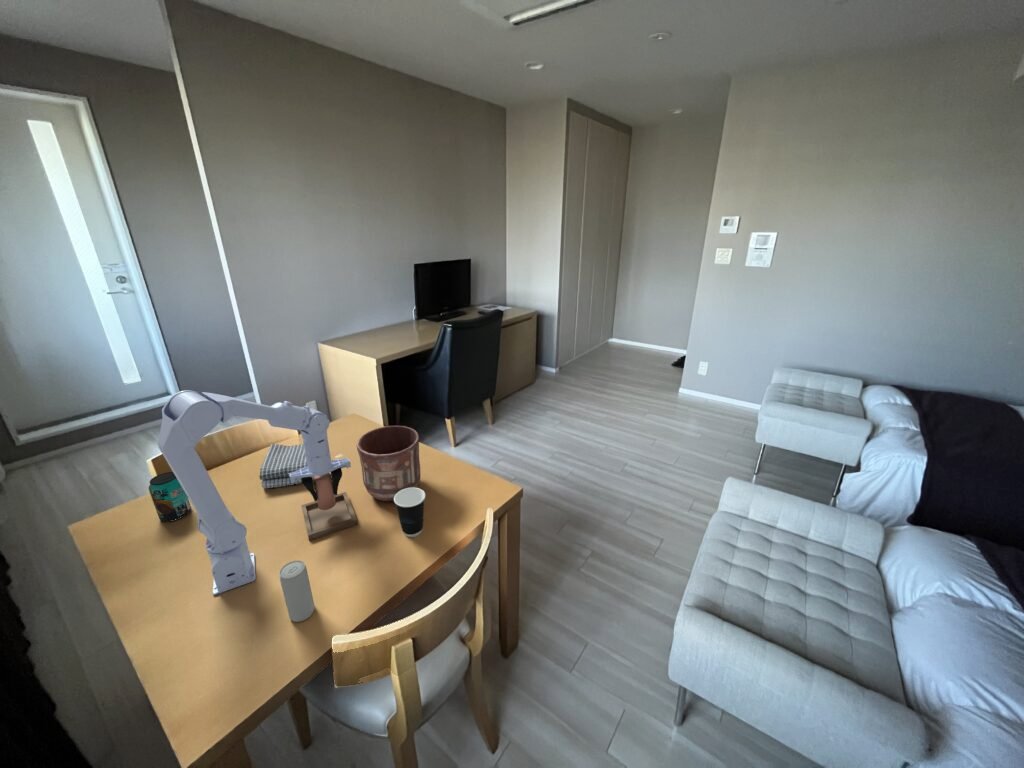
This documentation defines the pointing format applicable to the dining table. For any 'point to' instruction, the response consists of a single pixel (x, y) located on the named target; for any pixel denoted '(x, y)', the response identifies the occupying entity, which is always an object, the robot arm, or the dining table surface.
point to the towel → (282, 465)
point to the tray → (328, 517)
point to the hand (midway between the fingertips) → (325, 496)
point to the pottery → (389, 460)
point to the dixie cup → (410, 510)
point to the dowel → (324, 491)
